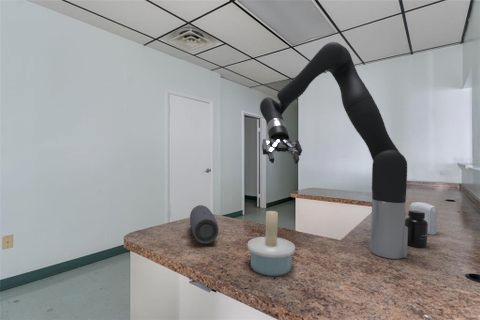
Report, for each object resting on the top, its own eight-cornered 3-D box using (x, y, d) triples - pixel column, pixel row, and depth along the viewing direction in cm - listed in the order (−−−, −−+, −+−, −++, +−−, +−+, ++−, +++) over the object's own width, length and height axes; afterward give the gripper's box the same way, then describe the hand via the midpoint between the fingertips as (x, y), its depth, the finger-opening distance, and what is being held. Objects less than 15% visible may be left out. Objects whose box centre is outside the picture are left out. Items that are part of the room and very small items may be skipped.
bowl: (288, 258, 73) (288, 242, 73) (293, 277, 62) (294, 257, 62) (251, 256, 73) (251, 240, 73) (250, 274, 62) (250, 255, 62)
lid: (291, 241, 74) (292, 208, 73) (298, 259, 61) (299, 219, 60) (248, 238, 75) (249, 206, 74) (246, 256, 62) (247, 216, 62)
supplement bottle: (428, 250, 83) (429, 214, 83) (404, 245, 87) (405, 212, 86) (425, 244, 89) (427, 211, 89) (403, 240, 92) (404, 208, 92)
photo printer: (407, 228, 109) (408, 200, 109) (415, 227, 110) (416, 200, 110) (429, 235, 99) (431, 205, 99) (438, 235, 100) (439, 205, 100)
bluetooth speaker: (220, 246, 81) (220, 216, 81) (191, 248, 79) (192, 217, 79) (211, 227, 103) (211, 203, 103) (188, 228, 101) (189, 204, 101)
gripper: (261, 123, 93) (266, 153, 82) (297, 125, 95) (307, 154, 83) (258, 138, 99) (263, 168, 87) (292, 139, 100) (301, 169, 89)
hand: (284, 161), depth 85 cm, fingers open, 8 cm apart
